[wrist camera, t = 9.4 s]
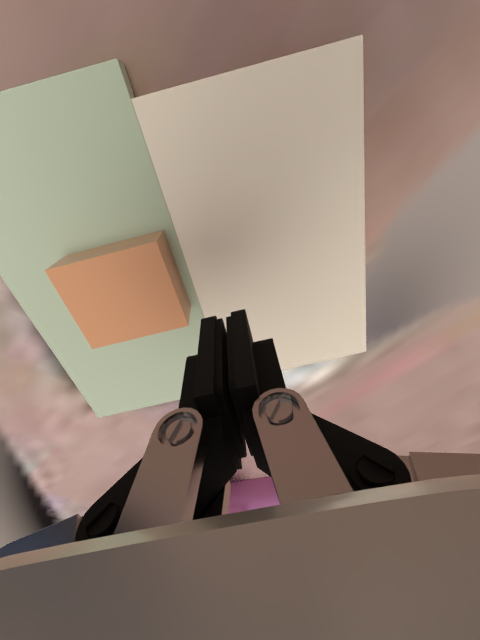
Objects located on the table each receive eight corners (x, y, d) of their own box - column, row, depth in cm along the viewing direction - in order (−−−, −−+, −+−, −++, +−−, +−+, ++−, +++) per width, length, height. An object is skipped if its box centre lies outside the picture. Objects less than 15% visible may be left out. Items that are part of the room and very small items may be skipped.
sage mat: (124, 65, 17) (116, 58, 15) (227, 377, 29) (228, 388, 28) (-83, 123, 17) (-107, 121, 16) (103, 406, 29) (98, 417, 28)
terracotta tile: (163, 229, 20) (156, 241, 17) (191, 305, 23) (188, 325, 20) (65, 254, 20) (44, 270, 18) (105, 326, 23) (92, 349, 21)
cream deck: (340, 51, 17) (362, 34, 15) (351, 332, 27) (366, 351, 25) (143, 106, 18) (130, 98, 15) (225, 361, 28) (226, 383, 25)
